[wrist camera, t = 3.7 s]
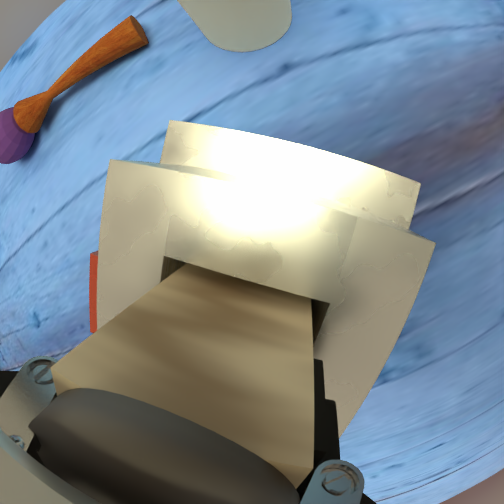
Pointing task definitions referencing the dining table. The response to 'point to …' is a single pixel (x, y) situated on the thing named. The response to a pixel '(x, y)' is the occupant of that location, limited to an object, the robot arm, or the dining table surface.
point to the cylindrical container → (240, 22)
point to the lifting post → (188, 397)
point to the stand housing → (270, 239)
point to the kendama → (63, 88)
